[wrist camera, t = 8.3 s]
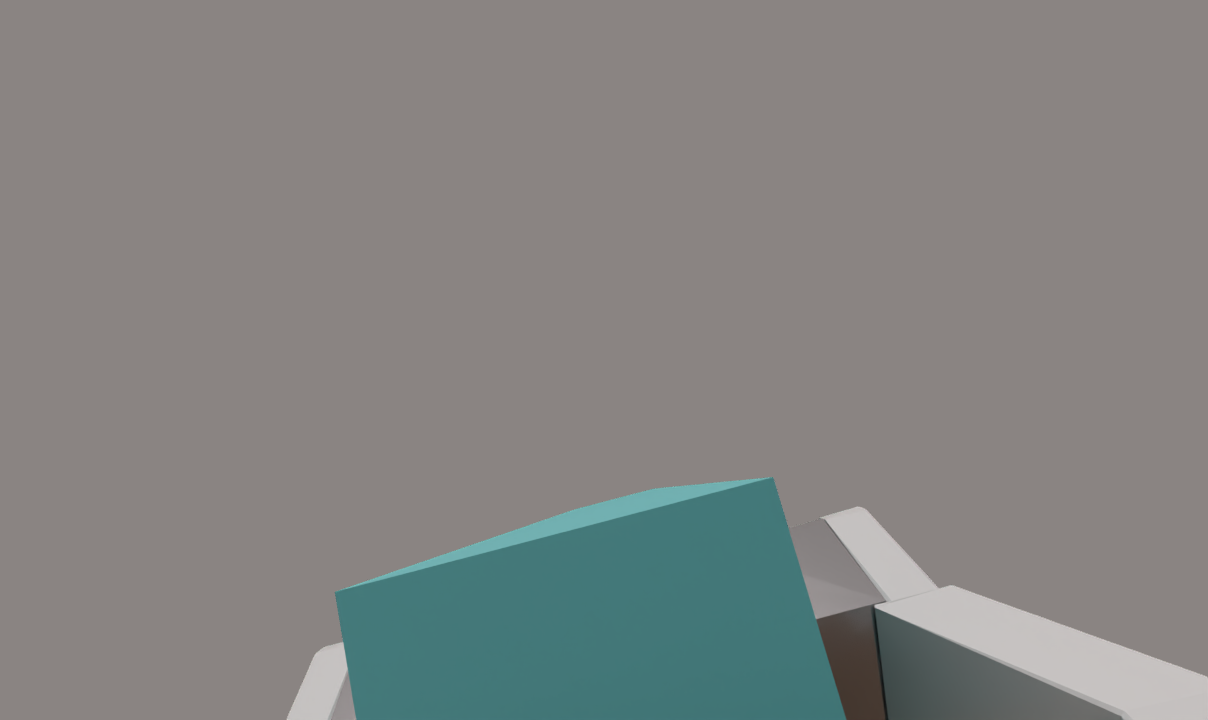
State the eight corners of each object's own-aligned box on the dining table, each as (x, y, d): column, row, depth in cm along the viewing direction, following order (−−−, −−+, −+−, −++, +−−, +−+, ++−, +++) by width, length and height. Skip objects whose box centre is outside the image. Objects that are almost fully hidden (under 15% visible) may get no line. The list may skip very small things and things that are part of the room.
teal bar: (926, 988, 5) (773, 476, 5) (424, 1125, 4) (335, 592, 5) (675, 571, 28) (653, 488, 29) (595, 592, 28) (575, 509, 29)
